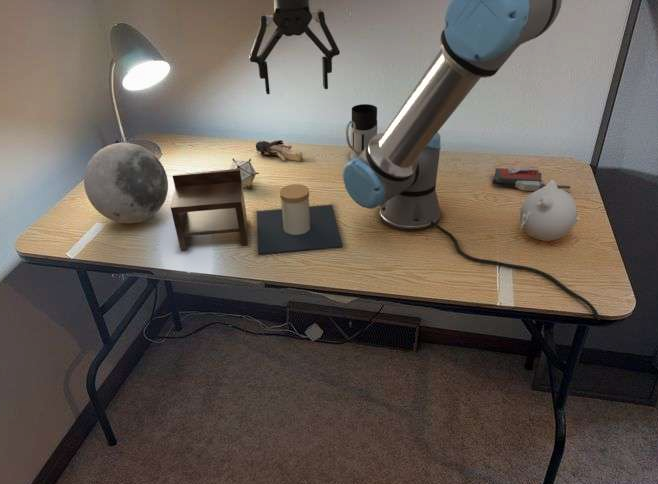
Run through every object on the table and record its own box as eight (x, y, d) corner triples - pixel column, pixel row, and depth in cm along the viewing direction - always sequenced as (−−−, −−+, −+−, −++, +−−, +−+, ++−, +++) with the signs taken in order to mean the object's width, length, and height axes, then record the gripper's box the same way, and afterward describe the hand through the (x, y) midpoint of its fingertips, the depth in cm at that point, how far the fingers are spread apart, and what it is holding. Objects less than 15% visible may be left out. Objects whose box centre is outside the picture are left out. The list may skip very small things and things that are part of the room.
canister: (309, 219, 138) (307, 183, 132) (312, 233, 132) (310, 196, 126) (282, 221, 137) (278, 185, 131) (283, 236, 132) (280, 199, 125)
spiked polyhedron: (246, 201, 155) (238, 186, 145) (225, 184, 157) (215, 168, 147) (267, 178, 156) (259, 162, 146) (245, 162, 158) (237, 145, 148)
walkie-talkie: (492, 190, 147) (569, 194, 144) (494, 176, 144) (573, 179, 141) (489, 176, 154) (563, 179, 150) (492, 161, 151) (567, 164, 148)
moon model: (86, 239, 135) (59, 165, 122) (111, 200, 150) (89, 131, 138) (165, 237, 134) (146, 163, 122) (182, 198, 150) (166, 128, 137)
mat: (331, 206, 143) (331, 204, 143) (342, 247, 128) (342, 245, 128) (256, 212, 142) (256, 211, 142) (258, 255, 127) (258, 253, 126)
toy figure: (305, 154, 171) (261, 148, 174) (305, 136, 166) (259, 130, 169) (299, 166, 166) (253, 160, 169) (298, 148, 161) (251, 142, 164)
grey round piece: (569, 259, 121) (583, 212, 113) (509, 246, 125) (519, 200, 118) (576, 227, 131) (590, 181, 123) (521, 216, 136) (531, 171, 128)
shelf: (247, 222, 139) (240, 168, 129) (247, 245, 130) (239, 189, 121) (184, 227, 137) (172, 174, 128) (180, 251, 129) (167, 196, 120)
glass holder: (383, 154, 168) (384, 106, 158) (359, 172, 159) (360, 122, 149) (358, 148, 172) (359, 101, 162) (334, 165, 163) (333, 116, 153)
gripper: (345, -20, 117) (346, 80, 130) (230, -12, 114) (242, 89, 127) (352, -14, 111) (352, 90, 124) (231, -6, 108) (244, 99, 122)
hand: (296, 89), depth 126 cm, fingers open, 13 cm apart
